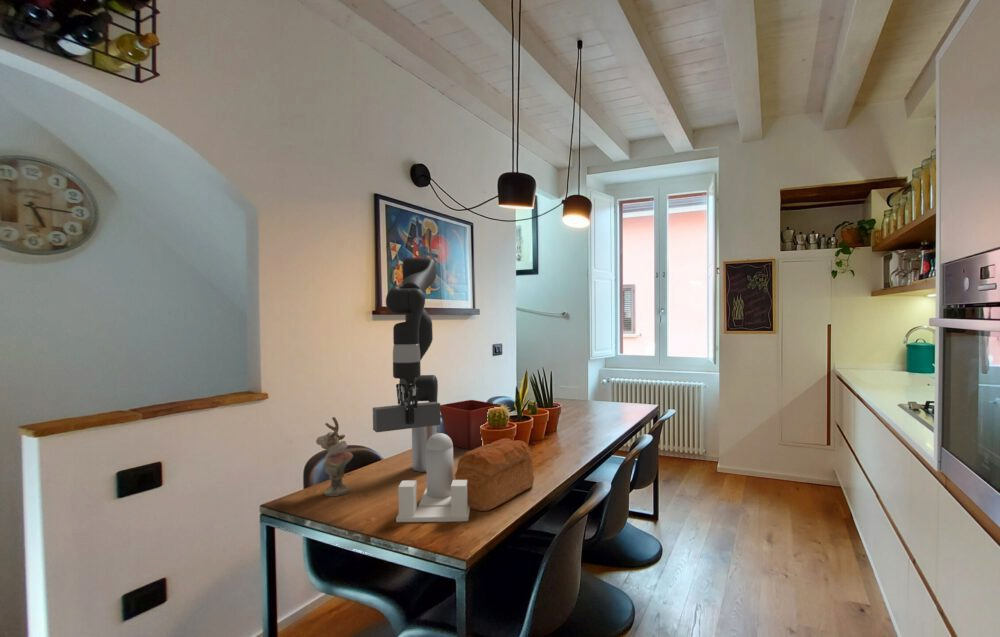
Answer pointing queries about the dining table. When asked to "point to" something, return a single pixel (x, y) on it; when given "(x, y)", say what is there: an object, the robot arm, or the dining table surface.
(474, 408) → the plant pot
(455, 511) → the display stand
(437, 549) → the dining table surface
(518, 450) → the bread
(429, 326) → the robot arm
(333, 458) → the decorative bust
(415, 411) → the gray bar
